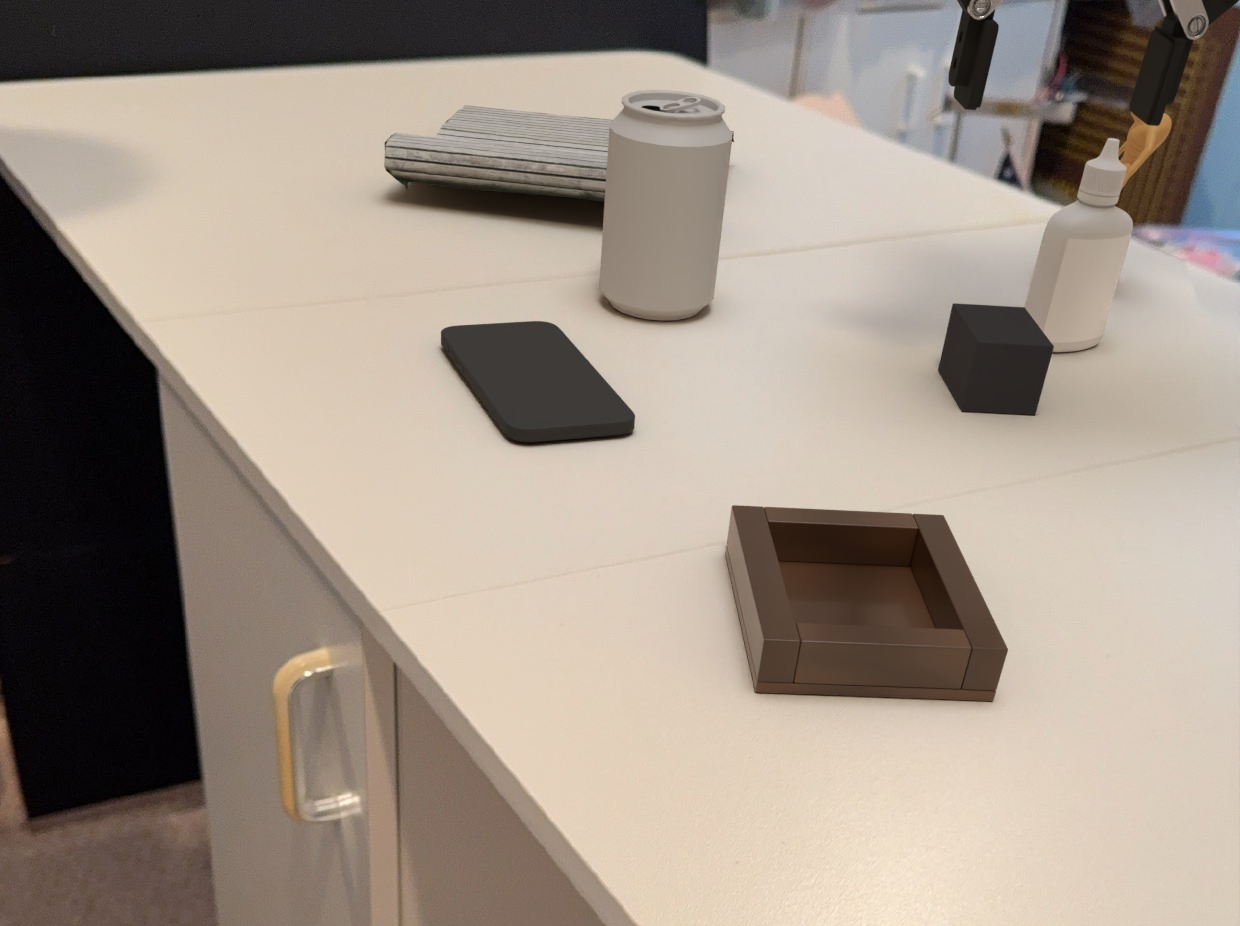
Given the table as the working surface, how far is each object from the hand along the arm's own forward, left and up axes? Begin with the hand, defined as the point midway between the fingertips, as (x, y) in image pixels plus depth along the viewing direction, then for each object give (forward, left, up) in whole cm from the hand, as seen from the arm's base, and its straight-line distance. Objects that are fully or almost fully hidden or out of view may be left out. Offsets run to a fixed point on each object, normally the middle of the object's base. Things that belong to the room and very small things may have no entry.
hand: (1055, 111), depth 76 cm
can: (+19, -12, -15) cm, 27 cm away
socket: (+13, +27, -15) cm, 34 cm away
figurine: (-12, -22, -15) cm, 29 cm away
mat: (+24, -39, -15) cm, 49 cm away
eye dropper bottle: (-7, -9, -15) cm, 19 cm away
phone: (+27, +3, -15) cm, 31 cm away
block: (0, -1, -15) cm, 15 cm away
